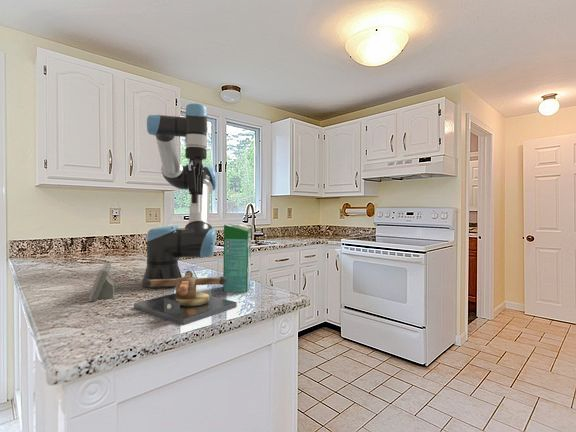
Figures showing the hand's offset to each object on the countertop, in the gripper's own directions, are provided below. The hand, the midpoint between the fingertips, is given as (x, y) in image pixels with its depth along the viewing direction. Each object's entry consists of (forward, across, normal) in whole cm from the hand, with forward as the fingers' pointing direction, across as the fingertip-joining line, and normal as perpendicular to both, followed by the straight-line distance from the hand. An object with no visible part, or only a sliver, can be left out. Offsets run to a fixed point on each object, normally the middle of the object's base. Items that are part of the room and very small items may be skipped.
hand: (195, 212), depth 119 cm
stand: (+29, +19, +4) cm, 35 cm away
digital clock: (+30, +10, -30) cm, 43 cm away
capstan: (+28, +19, +4) cm, 34 cm away
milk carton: (+30, -7, +14) cm, 34 cm away
